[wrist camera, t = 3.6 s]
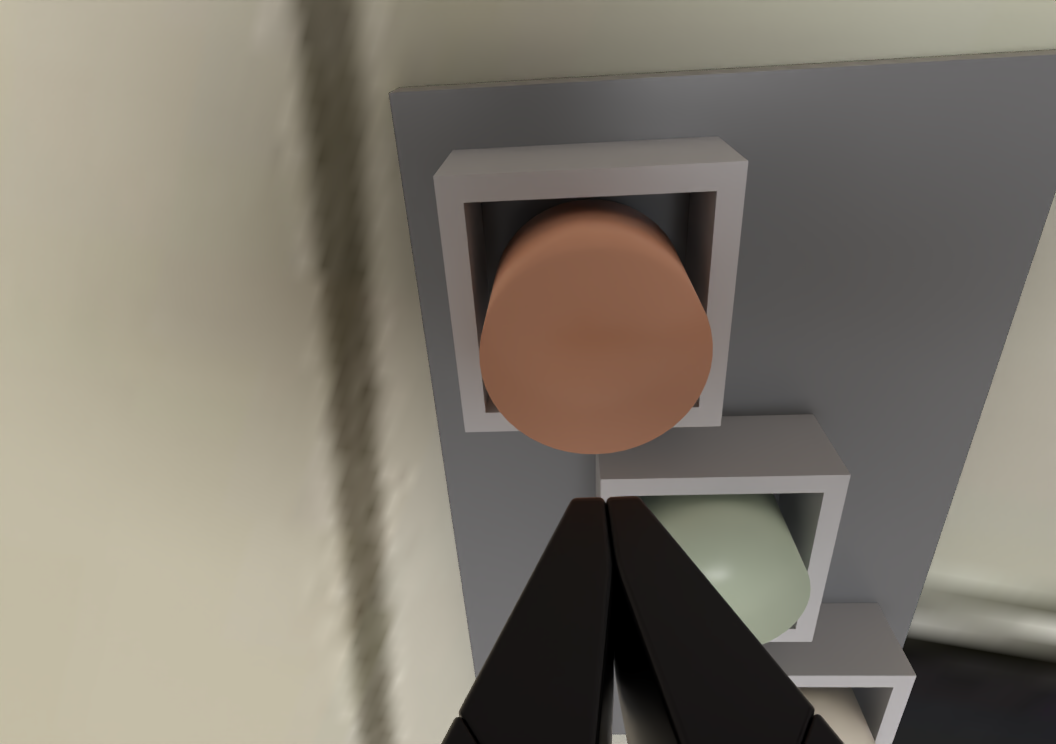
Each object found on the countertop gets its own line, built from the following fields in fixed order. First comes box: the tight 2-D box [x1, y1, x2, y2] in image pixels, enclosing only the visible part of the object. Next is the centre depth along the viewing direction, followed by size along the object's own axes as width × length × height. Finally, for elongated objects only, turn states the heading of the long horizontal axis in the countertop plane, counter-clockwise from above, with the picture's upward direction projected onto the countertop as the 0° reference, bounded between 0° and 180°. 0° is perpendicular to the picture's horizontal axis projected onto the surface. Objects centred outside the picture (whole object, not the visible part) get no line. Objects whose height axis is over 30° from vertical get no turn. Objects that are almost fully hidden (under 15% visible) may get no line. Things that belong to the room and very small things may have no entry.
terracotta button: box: [479, 199, 713, 454], centre depth 13 cm, size 4×4×3 cm
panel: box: [389, 49, 1056, 744], centre depth 18 cm, size 14×22×4 cm, turn 3°
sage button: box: [637, 493, 811, 644], centre depth 17 cm, size 4×4×3 cm
